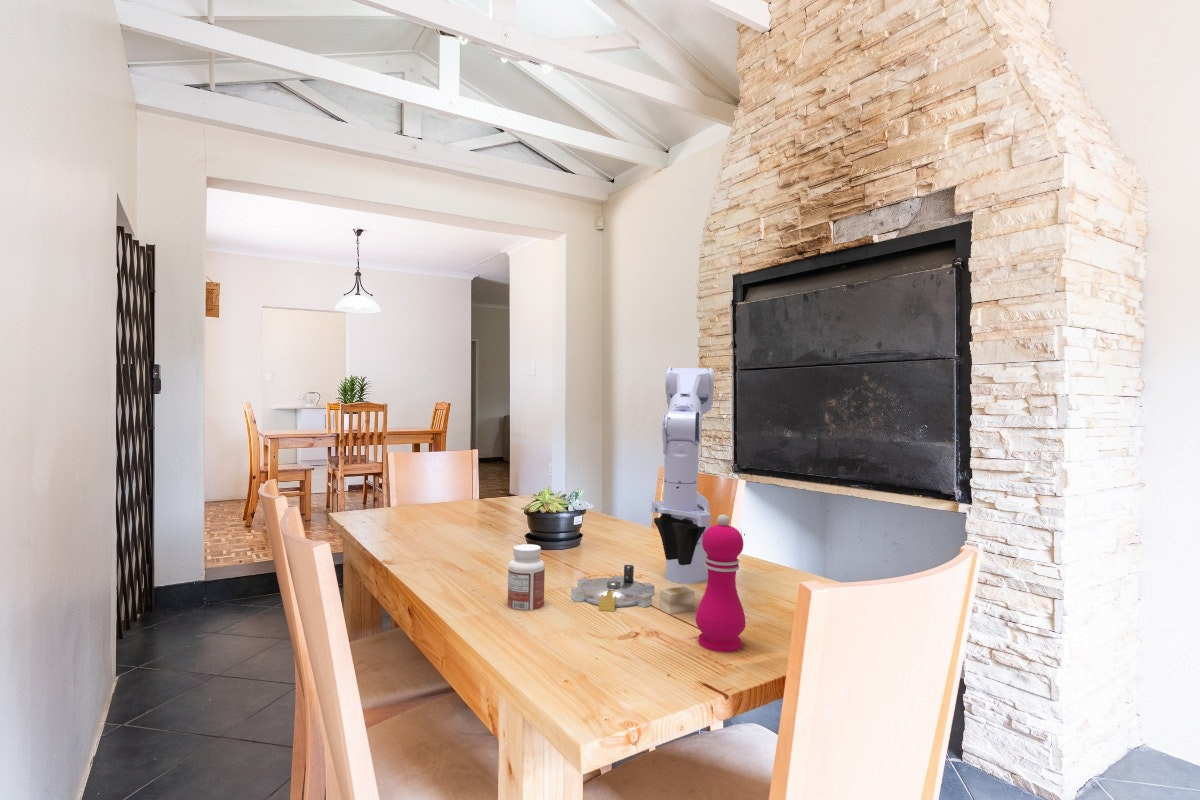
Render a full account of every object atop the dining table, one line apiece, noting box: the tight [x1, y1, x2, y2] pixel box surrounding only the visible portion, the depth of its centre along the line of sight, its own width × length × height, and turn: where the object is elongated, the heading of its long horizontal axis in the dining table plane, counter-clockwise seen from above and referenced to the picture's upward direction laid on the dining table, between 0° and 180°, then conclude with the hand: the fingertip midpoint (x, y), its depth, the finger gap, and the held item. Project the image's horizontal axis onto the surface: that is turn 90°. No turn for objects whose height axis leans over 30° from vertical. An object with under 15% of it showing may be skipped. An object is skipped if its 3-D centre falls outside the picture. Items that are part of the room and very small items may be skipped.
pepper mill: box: [695, 513, 746, 653], centre depth 93 cm, size 7×7×20 cm
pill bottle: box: [507, 543, 546, 611], centre depth 108 cm, size 6×6×11 cm
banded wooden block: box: [659, 586, 696, 615], centre depth 107 cm, size 5×3×4 cm, turn 118°
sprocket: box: [570, 564, 655, 612], centre depth 113 cm, size 16×14×5 cm
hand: (678, 561), depth 107 cm, fingers open, 3 cm apart
